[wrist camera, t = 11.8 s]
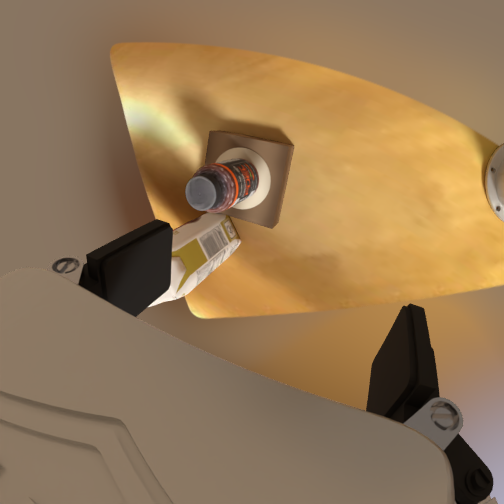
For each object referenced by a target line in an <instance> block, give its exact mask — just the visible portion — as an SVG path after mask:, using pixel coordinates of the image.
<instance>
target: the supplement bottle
mask: <svg viewBox="0 0 504 504" xmlns="http://www.w3.org/2000/svg"><path fill="white" fill-rule="evenodd" d="M258 185H259V175H258V172H257V169H256V168H255V166H254V165H253V164H252V163H251V162H249V161H248V160H245V159H241V158H236V159H231V160H226V161H221V162H217V163H212V164H209V165H205V166H203V167H201V168H200V169H198V170H197V172H196V173H195V174H194V176H193V178H192V179H190V180H189V182H188V183H187V186H186V190H185V194H186V198H187V201H188V202H189V204H190V205H191V206H192V207H193V208H194V209H196V210H200V211H207V212H211V213H219V212H222V211H225V210H227V209H229V208H230V207H232V206H234V205H236V204H238V203H240V202H242V201H243V200H245V199H247V198H249V197H250V196H252V195H253V194H254V193H255V192H256V190H257V188H258Z"/></svg>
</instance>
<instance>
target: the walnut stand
mask: <svg viewBox="0 0 504 504" xmlns="http://www.w3.org/2000/svg"><path fill="white" fill-rule="evenodd" d="M293 150H294V146H293V145H289V144H285V143H280V142H276V141H271V140H267V139H262V138H257V137H252V136H247V135H242V134H236V133H231V132H225V131H210V132H209V139H208V146H207V153H206V161H205V165H209V164H212V163H217V162H221V161H226V160H231V159H236V158H241V159H245V160H248V161H249V162H251V163H252V164H253V165H254V166H255V168H256V169H257V172H258V175H259V185H258V188H257V190H256V192H255V193H254V194H253V195H252V196H250V197H249V198H247V199H245V200H243V201H242V202H240V203H238V204H236V205H234V206H232V207H230V208H229V209H227V210H225V211H222V212H219V213H222V214H225V215H228V216H232V217H235V218H238V219H242V220H245V221H248V222H252V223H255V224H258V225H261V226H265V227H268V228H271V229H272V228H273V227H274V226H275V225H277V224H278V221H279V217H280V212H281V207H282V203H283V198H284V193H285V189H286V184H287V179H288V174H289V170H290V165H291V160H292V155H293Z"/></svg>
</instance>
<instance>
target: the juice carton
mask: <svg viewBox="0 0 504 504" xmlns="http://www.w3.org/2000/svg"><path fill="white" fill-rule="evenodd" d="M240 243H241V240H240V238H239V236H238V234H237V232H236V230H235V228H234V226H233V224H232V222H231V220H230V217H229V216H228V215H225V214H222V213H211V212H208V213H206V214H204V215H202V216H200V217H198V218H196V219H194V220H191V221H189V222H187V223H185V224H184V225H182V226H180V227H178V228H176V229H174V230H173V241H172V262H171V284H170V287H169V289H168V290H167V291H166V292H165V293H164V294H163V295H162V296H160V297H159V298H158V299H157V300H156V301H154V302H153V303H152V304H151V305H149V306H148V307H150V306H153V305H156V304H159V303H162V302H165V301H171V300H175V299H178V298H180V297H182V296H185V295H187V294H188V293H189V292H190V291H191V290H193V289H194V288H195V287H196V286H197V285H198V284H199V283H200V282H202V281H203V280H204V279H205V278H206V277H207V276H208V275H209V274H210V273H211V272H213V271H214V270H215V269H216V268H217V267H218V266H219V265H220V264H221V263H223V262H224V261H225V260H226V259H227V258H228V257H229V256H230V255H231V254H232V253H233V252H234V251H235V250H236V248H237V247H238V246H239V244H240Z"/></svg>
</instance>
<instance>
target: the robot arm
mask: <svg viewBox="0 0 504 504" xmlns="http://www.w3.org/2000/svg"><path fill="white" fill-rule="evenodd" d="M491 168H492V171H491ZM485 189H486V195H487V198H488V202H489V204H490V206H491V208H492V210H493V212H494V213H495V214H496V216H497V217H498V218H499V219H500V220H502V221H503V222H504V144H502V145H500V146H499V147H498V148H497V149H496V150H495V152H494V153H493V154H492V156H491V158H490V160H489V162H488V166H487V169H486V175H485ZM496 207H497V209H496ZM172 241H173V229H172V228H171V226H170V224H169V223H167V222H164V221H161V220H158V219H156V220H154V221H152V222H150V223H148V224H146V225H143V226H141V227H140V228H137V229H135V230H133V231H131V232H129V233H127V234H125V235H123V236H121V237H119V238H118V239H116V240H113V241H112V242H110V243H108V244H106V245H104V246H102V247H100V248H98V249H96V250H94V251H92V252H91V253H89V254H87V255H86V256H87V263H86V264H84V263H83V261H82V259H80V258H79V257H76V256H63V257H59V258H57V259H55V260H53V261H52V262H51V263H50V264H49V266H48V268H47V270H44V269H39V268H31V267H24V268H19V269H17V270H14V271H12V272H10V273H8V274H5V275H4V276H2V277H0V504H498V503H497V501H496V498H495V497H494V498H492V499H491V498H490V493H491V491H492V488H493V477H492V474H491V472H490V470H489V469H488V467H487V466H486V465H485V464H484V463H483V461H482V460H481V459H480V458H479V457H478V456H477V454H476V453H475V452H474V451H473V450H472V449H471V448H470V447H469V445H468V444H467V443H466V442H465V441H464V439H463V438H462V437H461V436H460V435H459V434H458V433H459V432H460V430H461V428H462V426H463V417H462V414H461V412H460V409H459V408H458V407H457V406H456V405H455V404H454V403H453V402H452V401H450V400H448V399H446V398H441V397H439V387H438V378H437V370H436V363H435V356H434V351H433V349H432V347H431V344H430V338H429V332H428V327H427V321H426V316H425V311H424V308H422V307H419V306H416V305H413V304H409V305H408V306H403V307H402V309H401V310H400V313H399V314H398V316H397V318H396V320H395V322H394V324H393V326H392V328H391V330H390V332H389V334H388V336H387V337H386V339H385V341H384V343H383V344H382V346H381V348H380V350H379V352H378V354H377V355H376V357H375V359H374V361H373V363H372V368H371V377H370V385H369V394H368V401H367V408H366V411H364V410H361V409H358V408H355V407H352V406H349V405H346V404H343V403H339V402H336V401H333V400H330V399H327V398H323V397H321V396H318V395H314V394H311V393H309V392H306V391H303V390H300V389H297V388H294V387H292V386H289V385H286V384H284V383H281V382H278V381H276V380H273V379H270V378H268V377H265V376H263V375H260V374H257V373H255V372H252V371H250V370H247V369H245V368H243V367H240V366H238V365H235V364H233V363H231V362H228V361H226V360H223V359H221V358H219V357H216V356H214V355H212V354H210V353H208V352H205V351H203V350H201V349H199V348H197V347H194V346H192V345H190V344H188V343H186V342H184V341H182V340H180V339H178V338H176V337H174V336H171V335H169V334H167V333H165V332H163V331H161V330H159V329H158V328H156V327H154V326H152V325H150V324H148V323H146V322H144V321H142V320H140V319H138V318H136V316H137V315H139V314H140V313H141V312H142V311H143V310H144V309H146V308H147V307H148V306H149V305H151V304H152V303H153V302H154V301H156V300H157V299H158V298H159V297H160V296H162V295H163V294H164V293H165V292H166V291H167V290H168V289H169V287H170V284H171V262H172Z"/></svg>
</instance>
